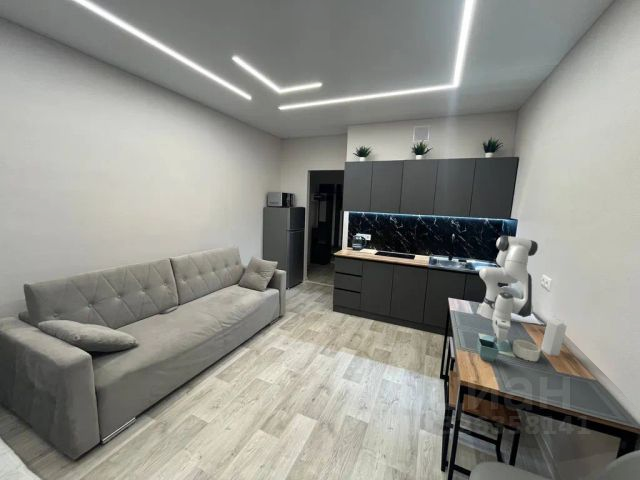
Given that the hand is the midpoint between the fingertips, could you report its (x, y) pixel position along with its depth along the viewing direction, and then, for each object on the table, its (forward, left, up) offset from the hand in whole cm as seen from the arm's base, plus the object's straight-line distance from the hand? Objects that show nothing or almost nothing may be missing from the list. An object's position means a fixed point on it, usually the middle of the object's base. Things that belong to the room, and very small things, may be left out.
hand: (496, 340), depth 158 cm
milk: (-9, +29, -3) cm, 30 cm away
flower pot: (+20, -8, -4) cm, 22 cm away
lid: (0, 0, -3) cm, 3 cm away
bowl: (+3, +14, -3) cm, 15 cm away
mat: (0, 0, -3) cm, 3 cm away
